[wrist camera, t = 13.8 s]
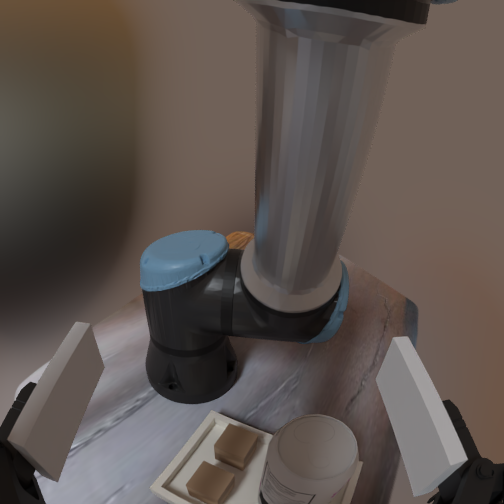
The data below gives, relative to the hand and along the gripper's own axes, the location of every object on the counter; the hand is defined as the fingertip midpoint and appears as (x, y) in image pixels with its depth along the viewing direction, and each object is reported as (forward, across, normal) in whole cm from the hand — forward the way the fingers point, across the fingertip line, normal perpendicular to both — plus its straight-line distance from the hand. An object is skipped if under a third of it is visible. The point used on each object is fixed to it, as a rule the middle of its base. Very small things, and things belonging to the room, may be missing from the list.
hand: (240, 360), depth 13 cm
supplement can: (+4, +7, -29) cm, 30 cm away
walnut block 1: (+4, -3, -29) cm, 30 cm away
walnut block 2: (+10, 0, -29) cm, 31 cm away
